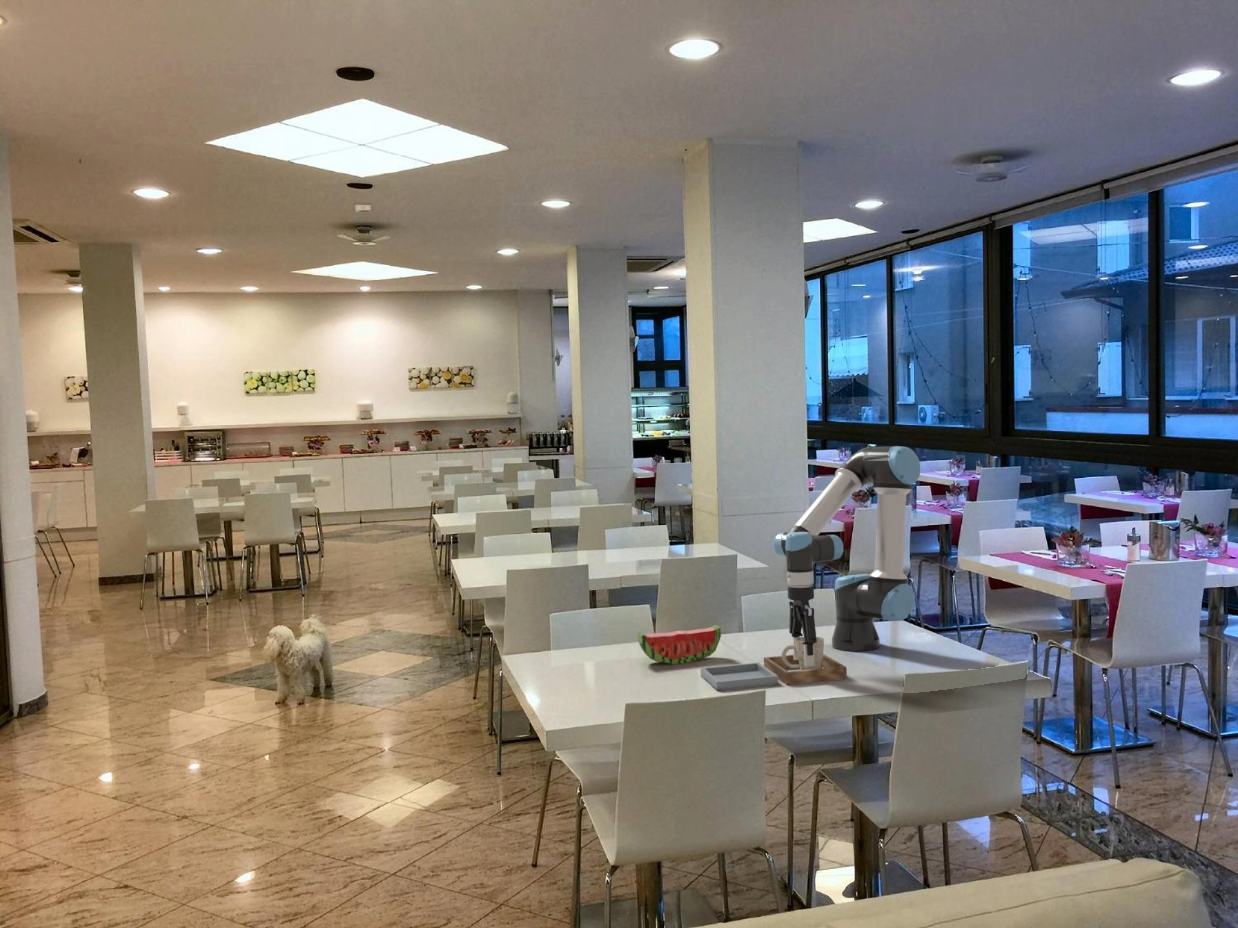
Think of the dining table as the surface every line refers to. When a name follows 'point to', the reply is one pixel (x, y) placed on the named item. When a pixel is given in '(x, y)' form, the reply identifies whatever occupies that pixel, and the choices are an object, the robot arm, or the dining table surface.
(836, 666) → the corral
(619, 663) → the dining table surface
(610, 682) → the dining table surface
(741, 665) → the tray
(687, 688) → the dining table surface
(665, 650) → the fruit slice
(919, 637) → the dining table surface
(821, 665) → the mug
